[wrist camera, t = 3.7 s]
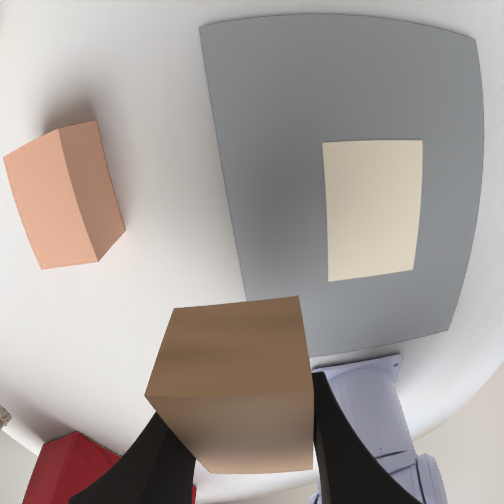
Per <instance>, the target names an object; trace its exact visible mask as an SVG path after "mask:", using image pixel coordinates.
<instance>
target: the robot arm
mask: <svg viewBox="0 0 504 504" xmlns="http://www.w3.org/2000/svg"><path fill="white" fill-rule="evenodd" d="M401 361H402V357H401V355H399V354H397V355H392V356H388V357H383V358H378V359H373V360H368V361H362V362H357V363H351V364H345V365H339V366H332V367H326V368H318V369H315V370H313V371H312V372H311V374H312V381H313V388H314V434H313V441H314V446H315V451H316V456H317V462H318V467H319V473H320V481H318V491H316V492H315V493H314V494H312V496H311V497H310V499H309V501H308V503H307V504H448V503H447V498H446V493H445V489H444V485H443V481H442V478H441V475H440V472H439V469H438V466H437V463H436V461H435V459H434V457H432V456H429V455H427V454H422V455H420V456H418V455H417V454H416V453H415V450H414V446H413V443H412V439H411V436H410V433H409V429H408V426H407V423H406V420H405V417H404V414H403V411H402V407H401V404H400V401H399V399H398V396H397V393H396V390H395V387H394V382H395V379H396V376H397V373H398V370H399V367H400V364H401ZM195 462H196V458H195V457H194V455H193V454H192V453H191V452H190V451H189V450H188V449H187V448H186V447H185V446H184V444H183V443H182V442H181V441H180V440H179V439H178V437H177V436H176V435H175V434H174V433H173V432H172V430H171V429H170V428H169V427H168V425H167V424H166V423H165V422H164V421H163V419H162V418H161V417H160V415H159V414H158V413H157V412H155V414H154V415H153V417H152V418H151V420H150V421H149V423H148V424H147V426H146V427H145V429H144V430H143V431H142V433H141V434H140V435H139V437H138V438H137V439H136V441H135V442H134V443H133V444H132V446H131V447H130V448H129V449H128V450H127V452H126V453H125V454H124V455H123V456H122V457H121V458H120V459H119V460H118V461H117V462H116V463H115V464H114V465H113V466H112V467H111V468H110V469H109V470H108V471H107V472H106V473H105V474H103V475H102V476H101V477H100V478H98V479H97V480H96V481H95V482H93V483H92V484H91V485H90V486H88V487H87V488H85V489H84V490H82V491H81V492H79V493H77V494H76V495H74V496H73V497H71V498H69V501H68V504H192V487H193V475H194V468H195Z"/></svg>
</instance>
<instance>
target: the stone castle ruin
mask: <svg viewBox="0 0 504 504" xmlns="http://www.w3.org/2000/svg"><path fill="white" fill-rule="evenodd" d="M11 418H12V417H11V415H10V414H9V413H8V412H7V411H6V410H5V409H4V408H3V407H2V406H1V405H0V430H1V428H2V427H3V426H6V425H7V423H8V422H9V420H10V419H11Z"/></svg>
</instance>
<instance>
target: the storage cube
mask: <svg viewBox="0 0 504 504" xmlns="http://www.w3.org/2000/svg"><path fill="white" fill-rule="evenodd" d="M120 458H121V456H119V455H117V454H115V453H113V452H111V451H110V450H108V449H106V448H105V447H103V446H101V445H99V444H98V443H96V442H94V441H93V440H91V439H90V438H88V437H86V436H84V435H83V434H81V433H80V432H74V433H72V434H69V435H67V436H64V437H61V438H59V439H56V440H53V441H50V442H47V443H45V444H43V447H42V449H41V452H40V454H39V457H38V459H37V462H36V465H35V468H34V470H33V473H32V476H31V479H30V481H29V484H28V487H27V490H26V493H25V496H24V499H23V503H22V504H68V501H69V498H71V497H73V496H74V495H76V494H77V493H79V492H81V491H82V490H84V489H85V488H87V487H88V486H90V485H91V484H92V483H93V482H95V481H96V480H97V479H98V478H100V477H101V476H102V475H103V474H105V473H106V472H107V471H108V470H109V469H110V468H111V467H112V466H113V465H114V464H115V463H116V462H117V461H118V460H119V459H120ZM196 490H197V488H196V487H195V486H194V485H193V487H192V504H195V498H196Z"/></svg>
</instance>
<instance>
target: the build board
mask: <svg viewBox="0 0 504 504" xmlns="http://www.w3.org/2000/svg"><path fill="white" fill-rule="evenodd" d="M199 32H200V38H201V45H202V51H203V57H204V64H205V70H206V76H207V82H208V88H209V94H210V100H211V106H212V112H213V118H214V124H215V130H216V136H217V142H218V147H219V153H220V159H221V165H222V170H223V176H224V182H225V187H226V193H227V198H228V204H229V209H230V215H231V220H232V226H233V231H234V237H235V242H236V247H237V253H238V258H239V263H240V269H241V274H242V279H243V284H244V290H245V295H246V300H247V301H256V300H265V299H273V298H282V297H290V296H297V295H299V300H300V306H301V312H302V317H303V323H304V329H305V336H306V342H307V348H308V354H309V358H310V357H317V356H325V355H332V354H338V353H345V352H351V351H357V350H362V349H368V348H373V347H379V346H384V345H388V344H393V343H398V342H403V341H407V340H411V339H416V338H420V337H424V336H428V335H432V334H436V333H439V332H443V331H447V330H448V328H449V326H450V323H451V320H452V317H453V314H454V311H455V308H456V305H457V302H458V298H459V295H460V292H461V288H462V285H463V281H464V277H465V274H466V270H467V266H468V262H469V257H470V253H471V248H472V243H473V238H474V233H475V228H476V222H477V215H478V209H479V201H480V193H481V183H482V171H483V154H484V110H483V93H482V81H481V72H480V64H479V57H478V51H477V45H476V40H475V39H473V38H470V37H467V36H464V35H461V34H457V33H454V32H450V31H446V30H442V29H439V28H434V27H430V26H426V25H421V24H416V23H411V22H405V21H399V20H392V19H385V18H377V17H368V16H356V15H339V14H295V15H277V16H265V17H256V18H247V19H240V20H233V21H227V22H221V23H216V24H210V25H205V26H201V27H199Z"/></svg>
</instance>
